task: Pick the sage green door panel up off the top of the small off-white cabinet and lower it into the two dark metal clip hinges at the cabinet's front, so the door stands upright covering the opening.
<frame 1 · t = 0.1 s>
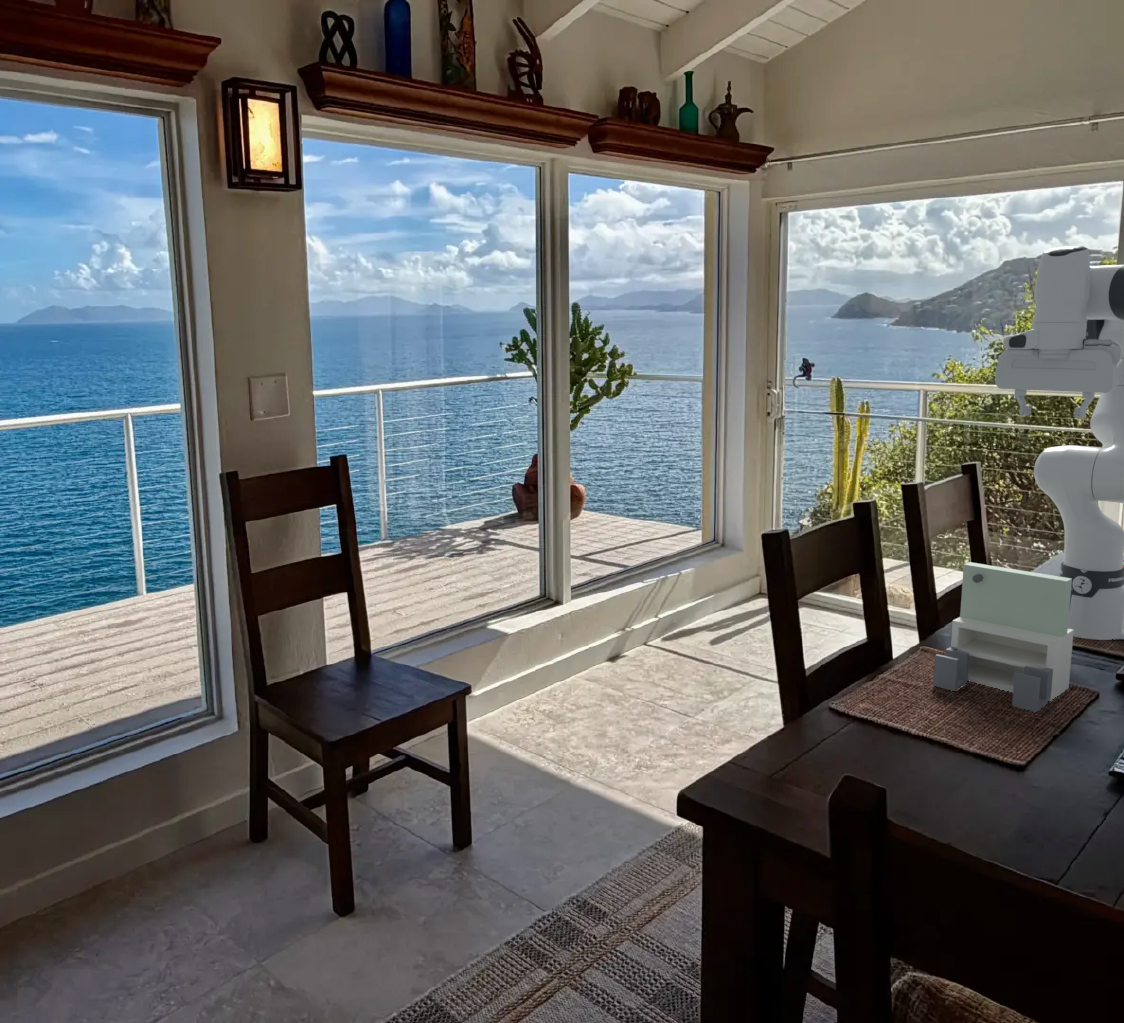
hand: (1052, 416, 185), 48 cm above the table, tool pointing down, fingers open, 8 cm apart
cup: (1046, 662, 196), on the table
cabinet: (1007, 682, 185), on the table
door: (1012, 625, 183), point 11 cm above the table, touching cabinet
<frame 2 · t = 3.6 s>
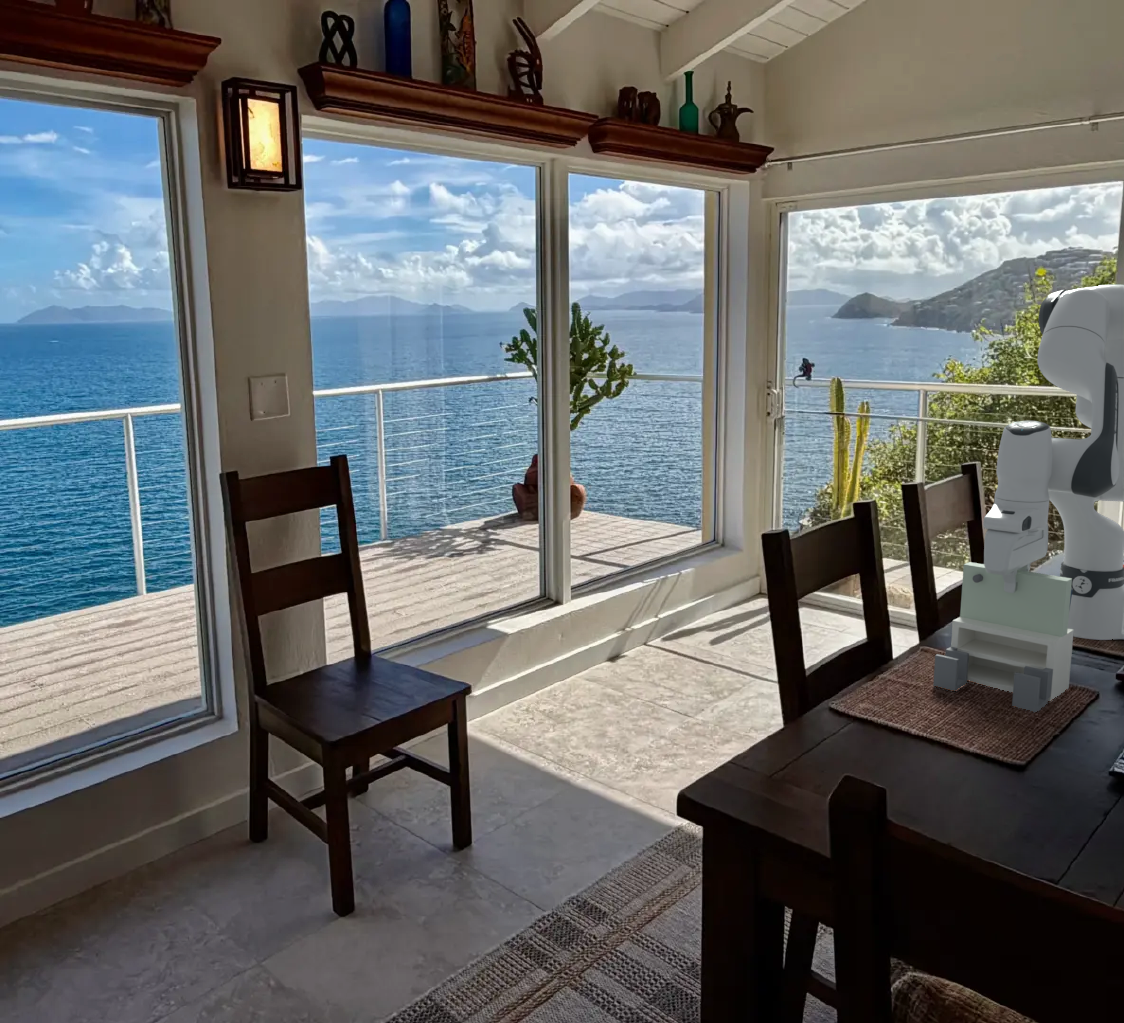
hand: (1014, 589, 182), 18 cm above the table, tool pointing down, fingers closed on door, 2 cm apart
door: (1012, 625, 183), point 11 cm above the table, touching cabinet, gripper
everything else where it was.
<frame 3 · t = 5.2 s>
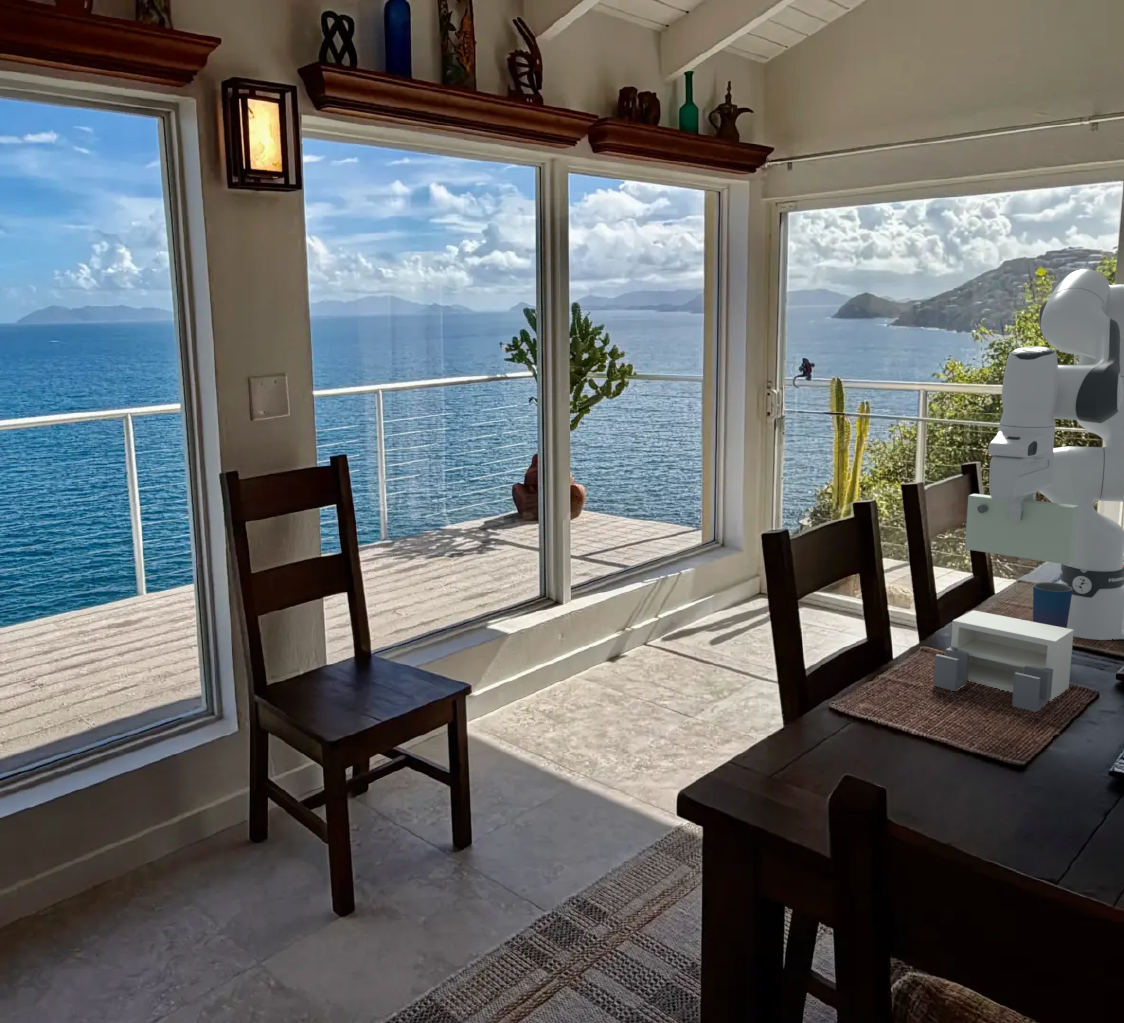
hand: (1020, 519, 180), 31 cm above the table, tool pointing down, fingers closed on door, 2 cm apart
door: (1017, 555, 181), point 24 cm above the table, touching gripper
everything else where it was.
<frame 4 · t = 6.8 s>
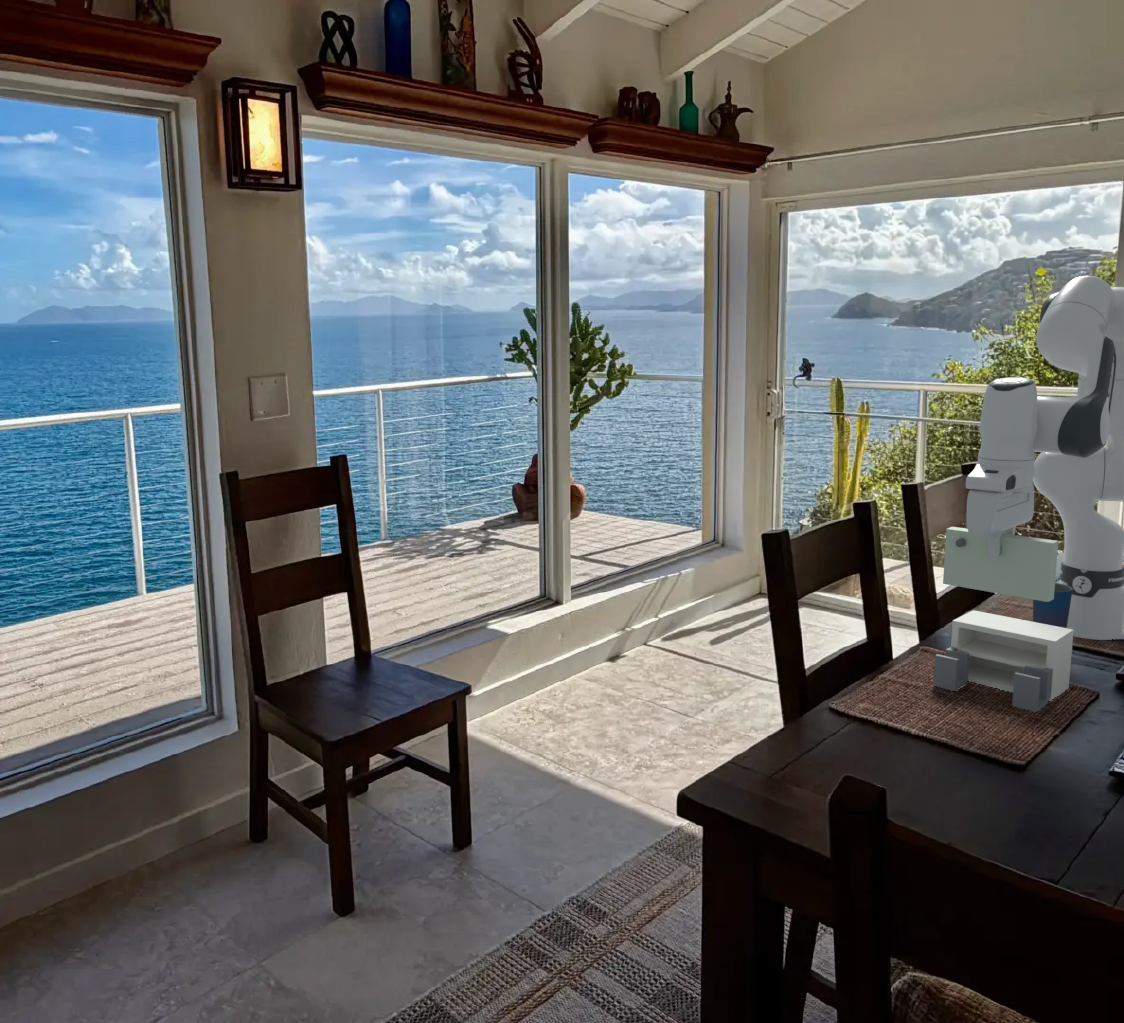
hand: (999, 554, 175), 26 cm above the table, tool pointing down, fingers closed on door, 2 cm apart
door: (996, 591, 176), point 19 cm above the table, touching gripper
everything else where it was.
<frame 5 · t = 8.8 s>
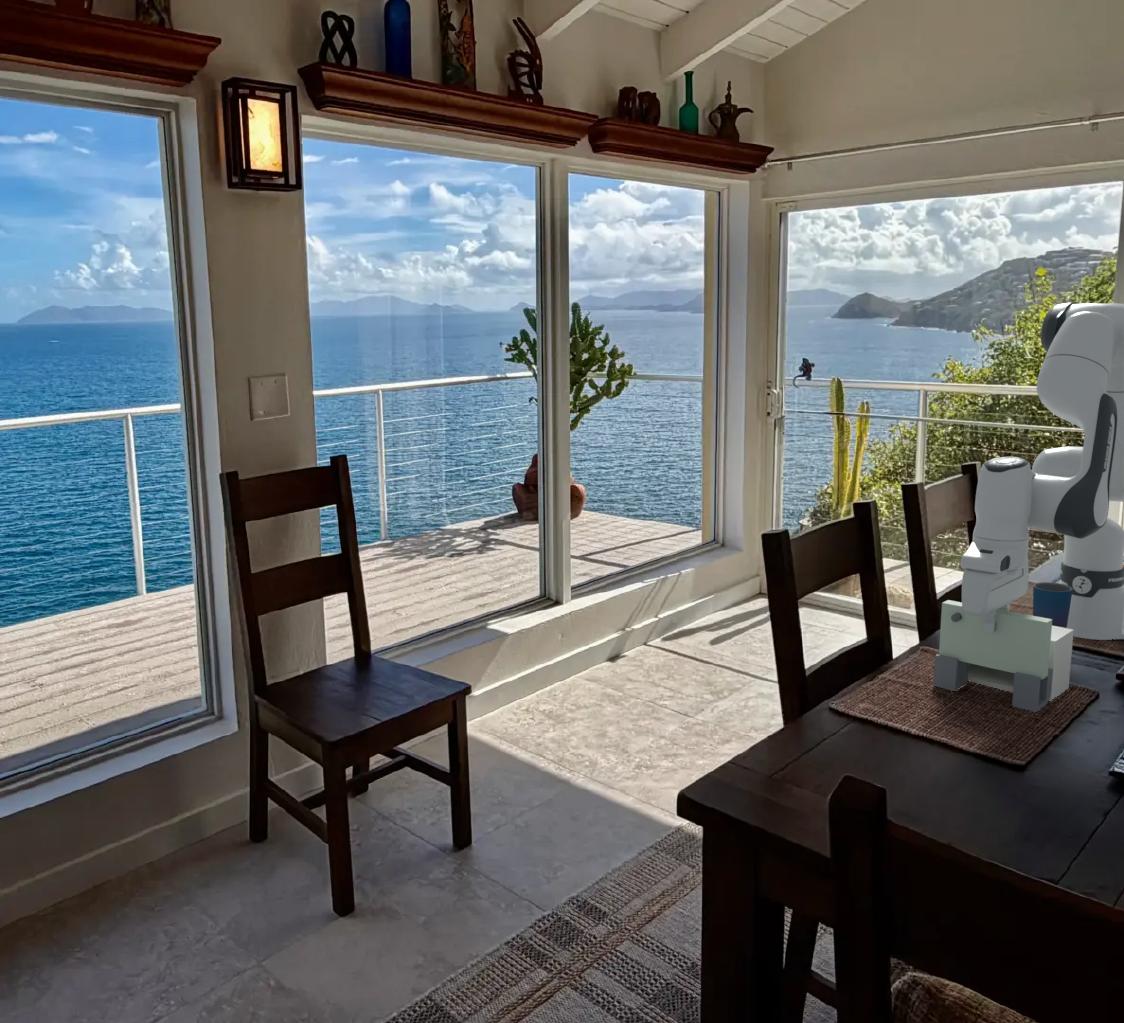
hand: (994, 629, 177), 12 cm above the table, tool pointing down, fingers closed on door, 2 cm apart
door: (991, 665, 178), point 6 cm above the table, touching gripper
everything else where it was.
when the fingers open (9 cm above the table, at t = 10.4 s): door drops 1 cm, resting on cabinet.
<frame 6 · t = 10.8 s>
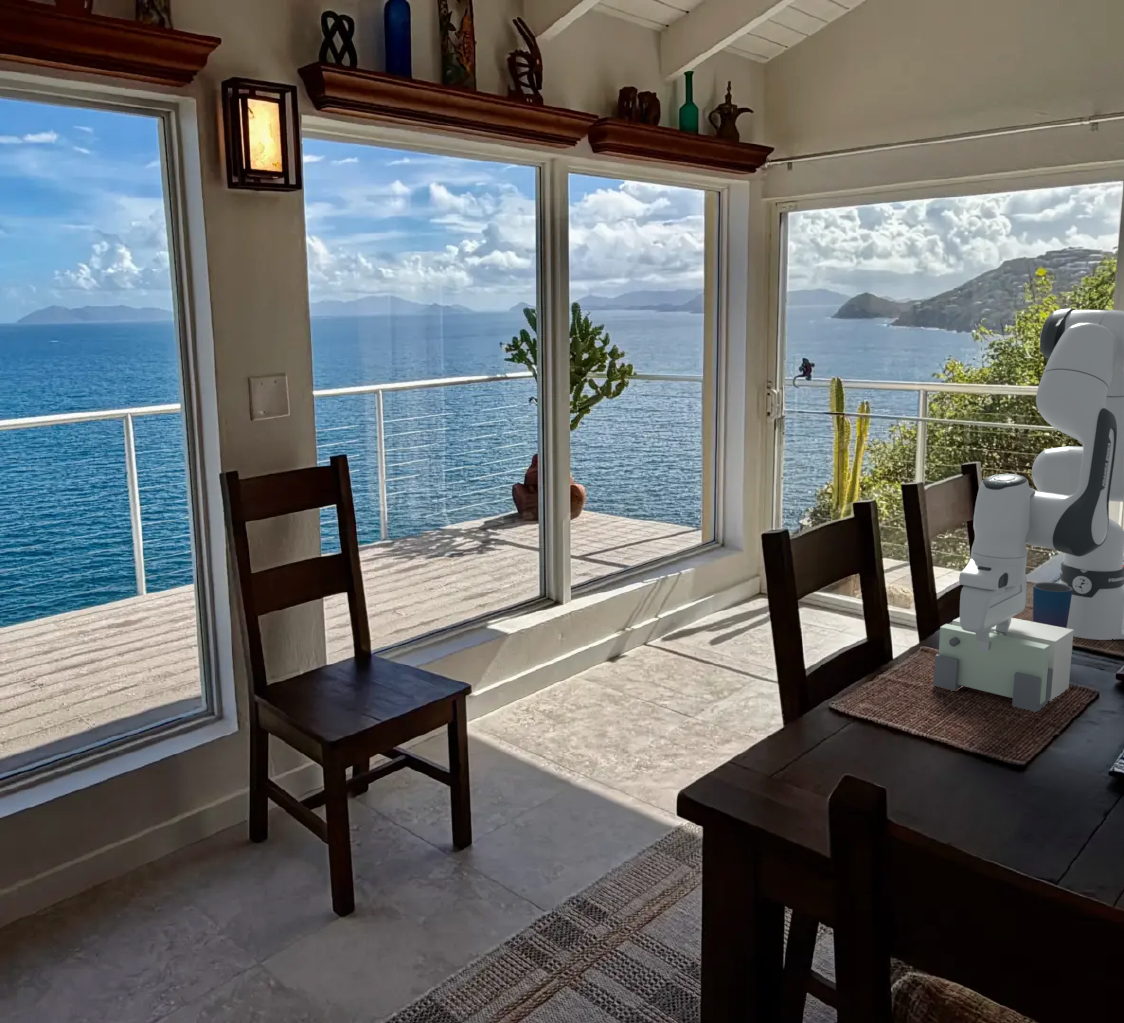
hand: (991, 645, 178), 9 cm above the table, tool pointing down, fingers open, 5 cm apart
door: (989, 689, 179), point 1 cm above the table, touching cabinet
everything else where it was.
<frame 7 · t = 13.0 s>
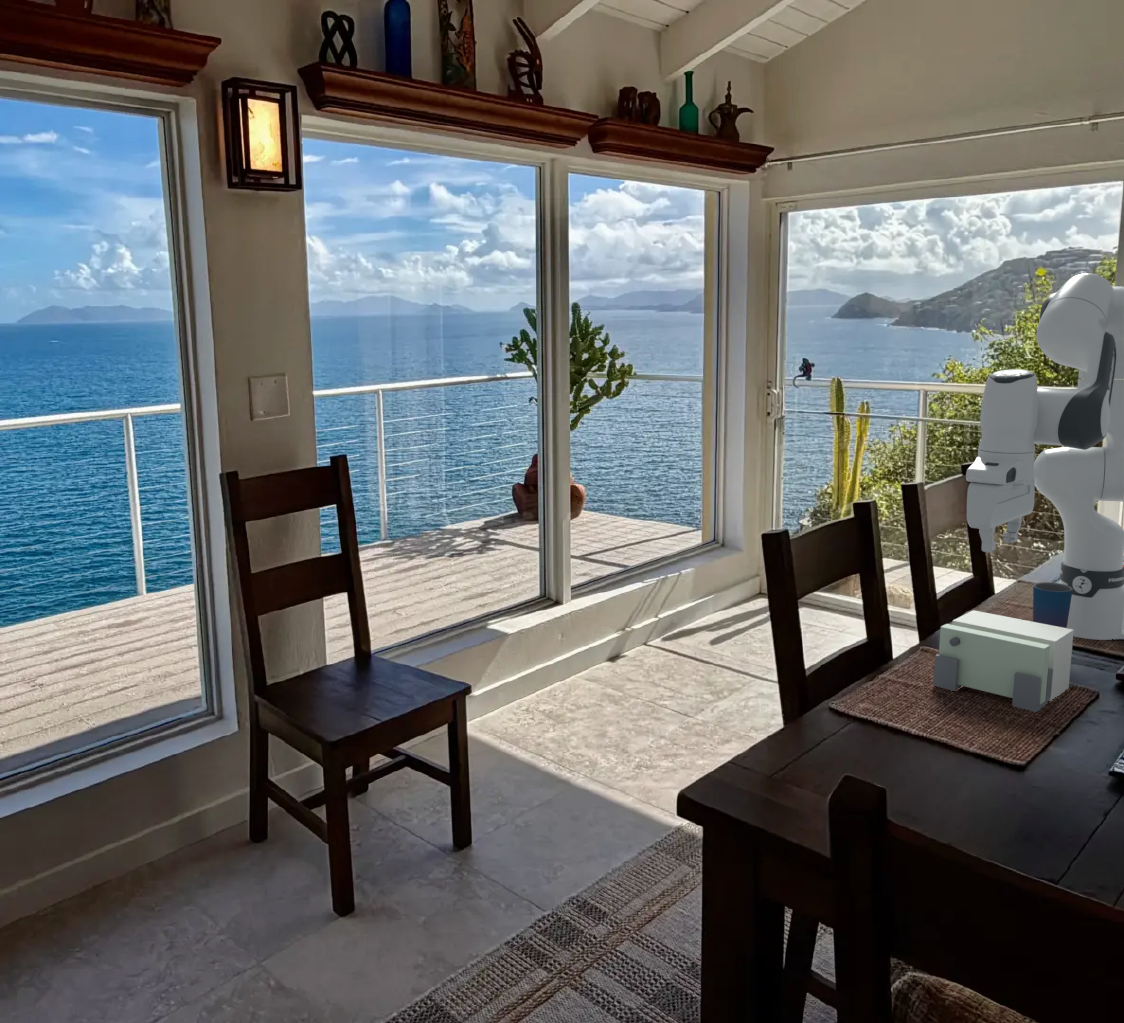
hand: (999, 546, 174), 27 cm above the table, tool pointing down, fingers open, 8 cm apart
nothing on the table moved.
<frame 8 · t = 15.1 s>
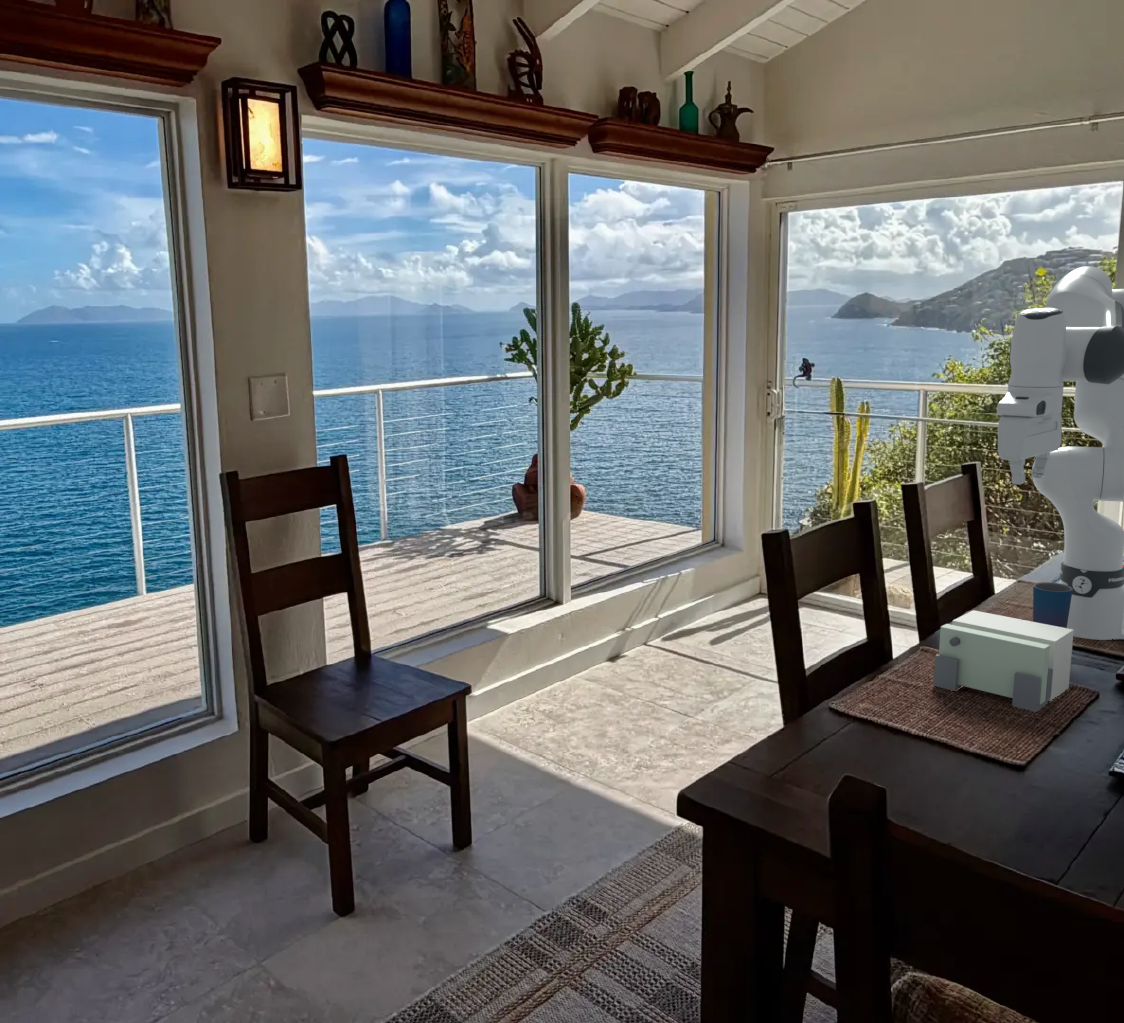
hand: (1028, 480, 180), 37 cm above the table, tool pointing down, fingers open, 8 cm apart
nothing on the table moved.
at the end: door 0.1 cm from the target spot on the cabinet, point 1.0 cm above the cabinet's base; door tilted 0°; the gripper is holding nothing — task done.
